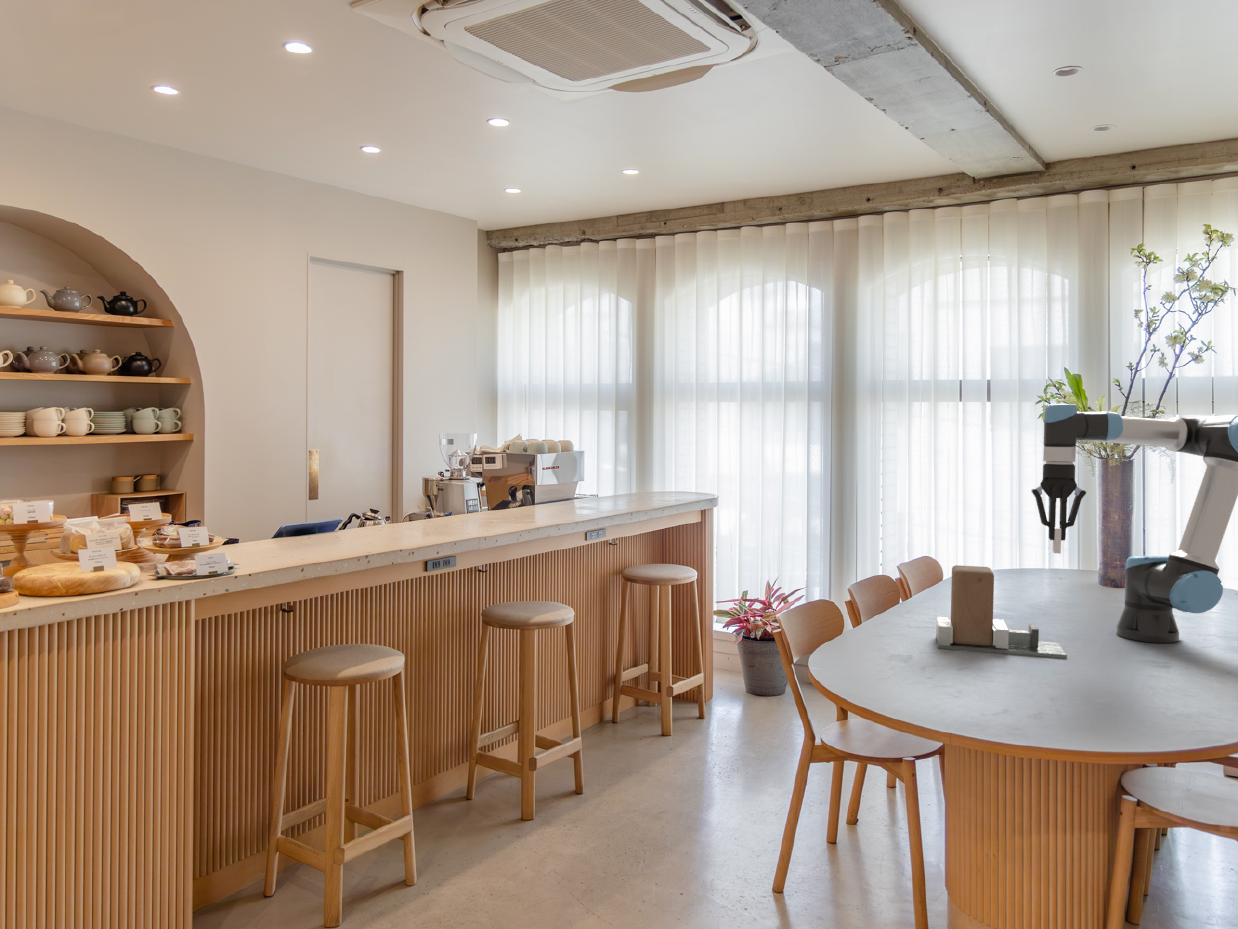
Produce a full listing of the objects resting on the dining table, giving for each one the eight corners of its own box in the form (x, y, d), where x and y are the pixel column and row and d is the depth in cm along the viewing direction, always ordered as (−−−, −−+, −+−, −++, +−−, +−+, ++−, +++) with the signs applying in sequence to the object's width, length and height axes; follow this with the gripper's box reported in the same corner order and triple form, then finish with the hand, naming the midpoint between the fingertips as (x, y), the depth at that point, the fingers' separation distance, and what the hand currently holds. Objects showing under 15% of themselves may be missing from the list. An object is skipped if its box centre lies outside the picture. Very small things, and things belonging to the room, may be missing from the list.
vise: (1057, 646, 235) (1058, 624, 235) (1066, 658, 223) (1067, 635, 223) (936, 637, 245) (936, 616, 244) (938, 648, 232) (938, 626, 232)
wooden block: (992, 647, 230) (994, 572, 229) (952, 644, 233) (954, 570, 232) (988, 638, 240) (990, 566, 239) (950, 635, 243) (951, 564, 242)
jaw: (1033, 640, 237) (1033, 622, 236) (1040, 651, 225) (1040, 632, 225) (988, 636, 240) (989, 619, 240) (993, 647, 229) (993, 628, 228)
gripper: (1083, 462, 229) (1081, 551, 230) (1029, 462, 233) (1027, 549, 234) (1090, 464, 222) (1087, 556, 223) (1033, 463, 226) (1031, 553, 227)
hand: (1056, 552), depth 228 cm, fingers closed
